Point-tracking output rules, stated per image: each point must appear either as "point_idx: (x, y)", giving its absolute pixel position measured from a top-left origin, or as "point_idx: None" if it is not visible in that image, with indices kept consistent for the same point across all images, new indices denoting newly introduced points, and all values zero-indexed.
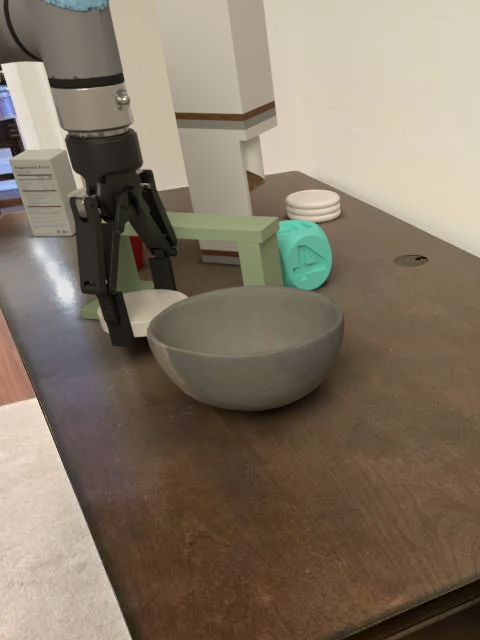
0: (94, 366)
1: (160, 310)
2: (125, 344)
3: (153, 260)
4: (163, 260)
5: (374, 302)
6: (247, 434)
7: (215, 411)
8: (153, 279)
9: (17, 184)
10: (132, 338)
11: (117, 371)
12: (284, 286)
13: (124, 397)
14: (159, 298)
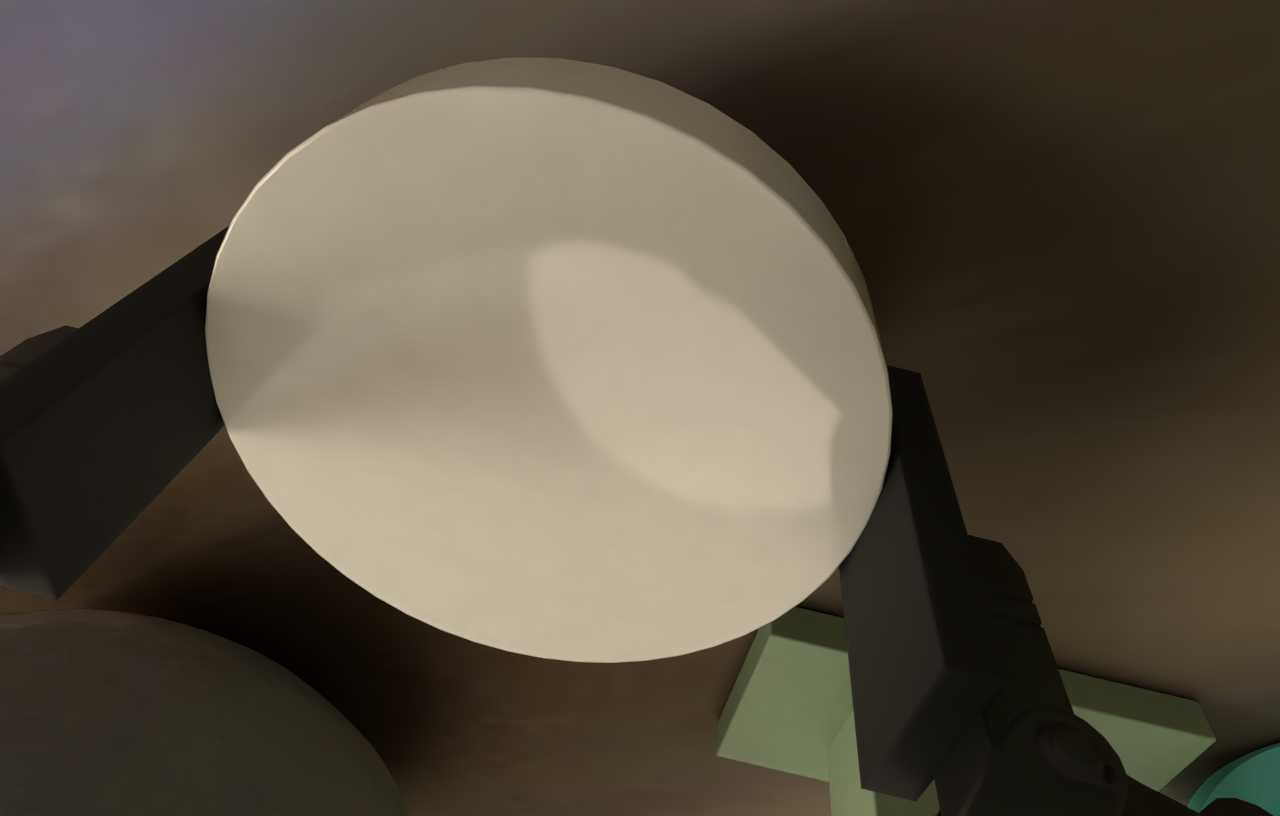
0: (260, 14)
1: (455, 553)
2: None
3: (918, 694)
4: (878, 762)
5: None
6: None
7: (97, 599)
8: (905, 519)
9: None
10: None
11: (244, 188)
12: (1199, 807)
13: (30, 301)
14: (668, 520)
